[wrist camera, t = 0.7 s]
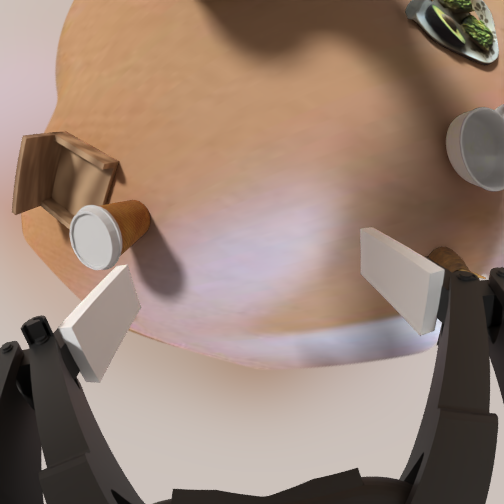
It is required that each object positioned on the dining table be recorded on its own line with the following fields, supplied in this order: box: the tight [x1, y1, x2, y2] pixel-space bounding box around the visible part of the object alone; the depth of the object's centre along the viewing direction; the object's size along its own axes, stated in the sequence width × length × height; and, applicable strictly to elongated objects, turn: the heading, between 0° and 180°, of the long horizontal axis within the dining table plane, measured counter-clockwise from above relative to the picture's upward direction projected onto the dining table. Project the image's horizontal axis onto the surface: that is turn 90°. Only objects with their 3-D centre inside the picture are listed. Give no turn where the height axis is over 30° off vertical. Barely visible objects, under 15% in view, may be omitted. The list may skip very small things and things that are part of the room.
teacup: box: [446, 104, 504, 191], centre depth 25 cm, size 14×11×8 cm
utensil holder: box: [428, 247, 486, 279], centre depth 31 cm, size 6×6×12 cm
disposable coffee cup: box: [70, 200, 150, 270], centre depth 39 cm, size 10×10×12 cm
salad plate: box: [405, 0, 499, 65], centre depth 19 cm, size 19×18×5 cm
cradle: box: [12, 131, 119, 229], centre depth 39 cm, size 16×15×11 cm
